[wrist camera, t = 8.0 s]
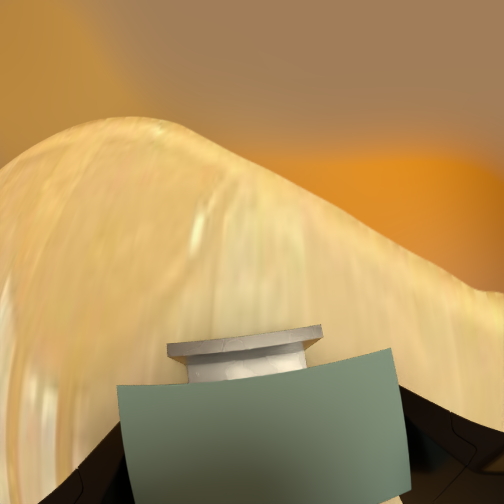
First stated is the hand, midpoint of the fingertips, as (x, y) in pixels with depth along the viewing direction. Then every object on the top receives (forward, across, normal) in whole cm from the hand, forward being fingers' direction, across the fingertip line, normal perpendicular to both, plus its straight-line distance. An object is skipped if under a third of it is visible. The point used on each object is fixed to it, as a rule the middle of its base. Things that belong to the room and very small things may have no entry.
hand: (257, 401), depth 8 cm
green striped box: (+4, 0, +6) cm, 7 cm away
